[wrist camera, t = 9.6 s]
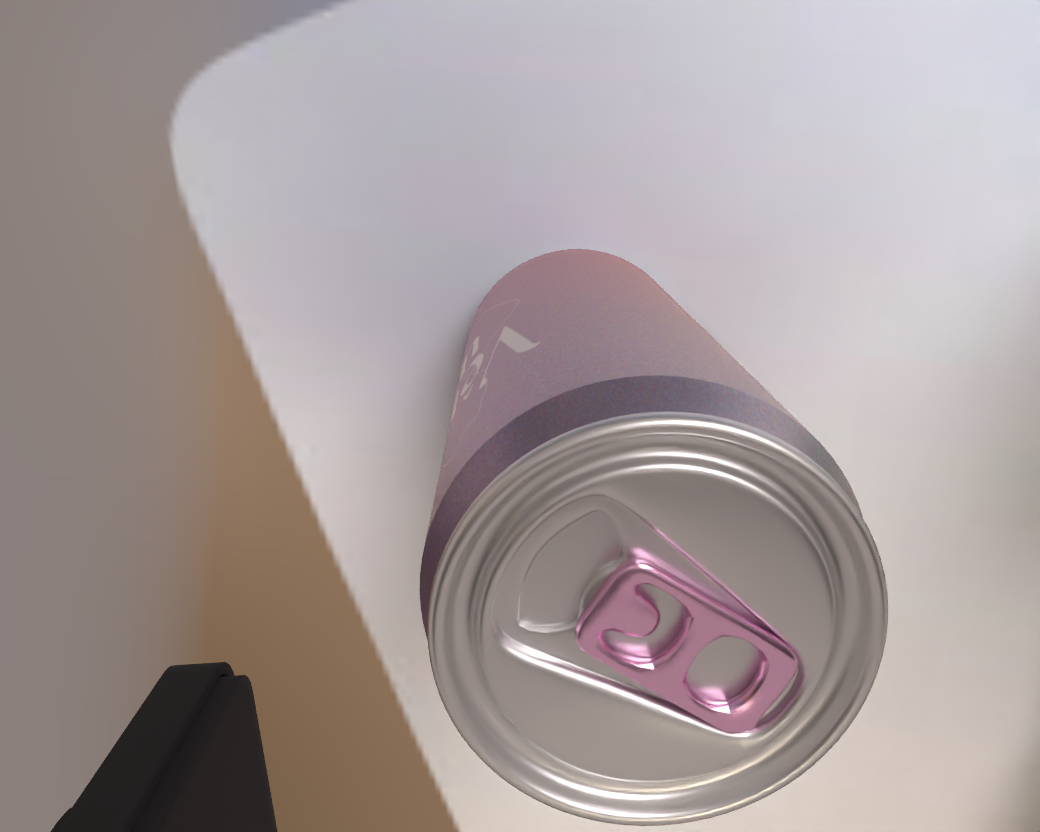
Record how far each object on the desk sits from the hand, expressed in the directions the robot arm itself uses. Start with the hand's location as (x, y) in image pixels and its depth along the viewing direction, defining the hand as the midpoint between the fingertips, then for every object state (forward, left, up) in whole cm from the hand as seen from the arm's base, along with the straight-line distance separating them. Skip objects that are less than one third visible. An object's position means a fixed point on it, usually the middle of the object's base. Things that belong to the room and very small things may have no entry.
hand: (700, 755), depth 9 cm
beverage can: (0, 0, -17) cm, 17 cm away
